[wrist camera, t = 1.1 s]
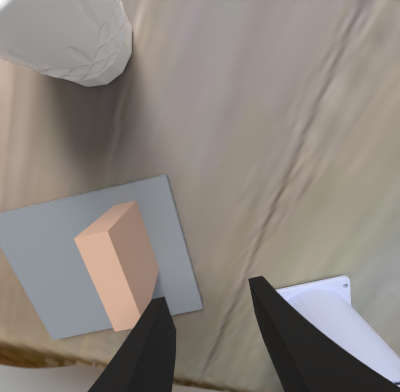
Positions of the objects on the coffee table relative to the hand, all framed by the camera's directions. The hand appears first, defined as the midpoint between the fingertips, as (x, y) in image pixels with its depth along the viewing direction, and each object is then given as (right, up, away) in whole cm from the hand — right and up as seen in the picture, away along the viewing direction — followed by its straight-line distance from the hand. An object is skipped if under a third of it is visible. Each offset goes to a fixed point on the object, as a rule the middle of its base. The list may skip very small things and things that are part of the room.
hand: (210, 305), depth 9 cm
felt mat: (-10, -1, +10) cm, 14 cm away
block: (-6, +1, +9) cm, 11 cm away
